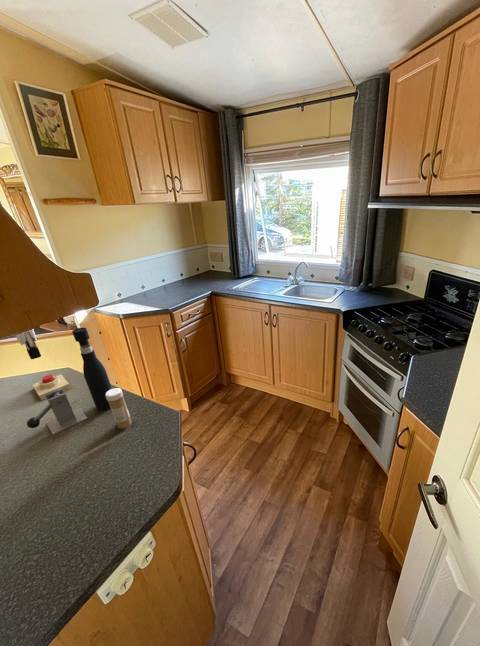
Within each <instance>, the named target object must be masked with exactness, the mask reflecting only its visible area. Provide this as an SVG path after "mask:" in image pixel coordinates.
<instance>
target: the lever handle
mask: <svg viewBox="0 0 480 646" xmlns="http://www.w3.org/2000/svg"><path fill="white" fill-rule="evenodd" d="M57 395H60V394H59V393H57V392H56V393H55V394H54V395H53V396H52V397H51V398H53V397H55V396H57ZM50 410H52V407H51V404H50V403H49V402H48V404H47V405H46V406H45V407H44V408H43V409H42V410H41V411H40V412H39V413H38V414H37V415H36V416H35V417H31V418H29V419H28V420H27V421H26V426H27V428H29V429H35V428H38V427H39V426H40V424H41V420H42V418H44V416H45V415H46V414H47V413H48V412H49V411H50Z"/></svg>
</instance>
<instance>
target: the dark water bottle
mask: <svg viewBox="0 0 480 646" xmlns="http://www.w3.org/2000/svg"><path fill="white" fill-rule="evenodd" d="M71 333H72V335H73V338H74V340H75V342H76V343H78V345H79V346H80V347H79V351H80V356H81V359H82V361H83V363H82V364H83V365H82V371H83V377H84V380H85V382H86V385H87V388H88V390H89V394H90V395H91V398H92V400H93V401H92V402H93V403H94V405H95V408H96V410H97V412H106V411H109V410H111V409H110V405H109V402H108V400H107V399H106V396H105V394H106V392H107V391H109V390H111V389H113V388H112V384H111V381H110V378H109V376H108V373H107V370H106V368H105V365H103V363H102V362H101V360H100V359H98V357H97V355H96V352H95V350H94V349H93V347H92V345H91V344H90V342H89V339H90V335H89V332H88V329H87V328H86V327H78V328H75V329H73V330H72V332H71Z"/></svg>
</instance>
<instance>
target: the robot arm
mask: <svg viewBox="0 0 480 646" xmlns="http://www.w3.org/2000/svg"><path fill="white" fill-rule="evenodd" d="M36 335H37V334H36V333H35V329H34V328H33V329H32V330H29V331H27V332H23V333H21V334H18V335H15V337H16V338H15V339H16V340H17V342H18V343H19V344H20V346H24V345H25V348H26V349H25V350H26V351H27V354H28V356H29V358H30V360H35V359H39V358H41V357H42V354H41V352H40V350H39V346H37V343H36V342H38V341H37V340H38V339H37V336H36Z"/></svg>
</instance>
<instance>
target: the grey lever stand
mask: <svg viewBox="0 0 480 646" xmlns="http://www.w3.org/2000/svg"><path fill="white" fill-rule="evenodd" d="M56 392H57V393H59V394H60V395H57V396H55V397H53V398H51V397H52V396H53V395H54V394H55V393H56ZM45 396H46V398H45V399H47V402H48V404H49V403H50V404H51V407H52V408H51V411H52V412H53V415H54V417H55V419H53V420H50V421H48V422H46V423H45V424H46V425H47V427H48V429H49V431H50V433H51V434H52V436H54V435H56V434H59V433H61V432H62V431H66V430H67V429H69V428H71V427H73V426H75V425H78V424H79V423H82V422H84V421H86V420H88V416H87V415H86V414H85V413H84V412H83V410H82V409H81V408H77V409H75V410H73V408H72V406H71V404H70V402H69V399H68V397H67V394H66V393H65V392H64V391H62V389H61V388H60V389H58V390H55V391H52V392H50V393H47V394H45Z"/></svg>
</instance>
